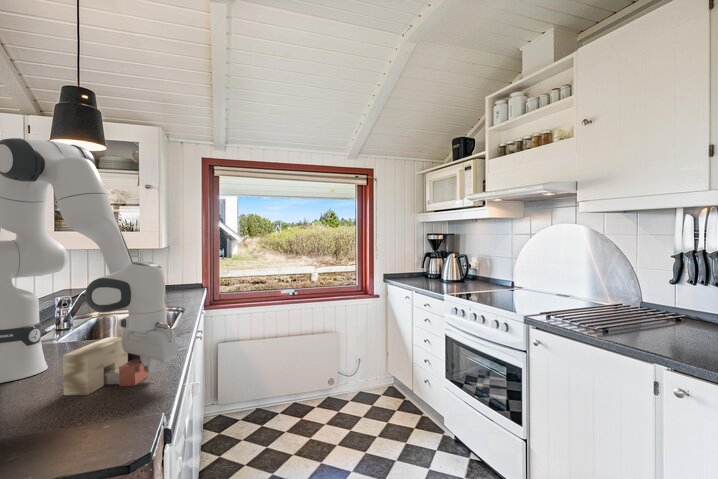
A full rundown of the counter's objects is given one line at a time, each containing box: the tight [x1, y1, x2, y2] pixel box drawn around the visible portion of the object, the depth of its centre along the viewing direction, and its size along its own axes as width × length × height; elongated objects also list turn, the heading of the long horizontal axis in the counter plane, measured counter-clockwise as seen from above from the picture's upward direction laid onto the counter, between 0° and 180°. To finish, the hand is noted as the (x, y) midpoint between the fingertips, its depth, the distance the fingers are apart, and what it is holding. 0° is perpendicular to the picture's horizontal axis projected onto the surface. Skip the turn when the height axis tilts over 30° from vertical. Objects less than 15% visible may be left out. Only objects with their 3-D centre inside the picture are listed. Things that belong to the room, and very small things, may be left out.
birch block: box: [62, 336, 128, 396], centre depth 98 cm, size 6×16×10 cm, turn 1°
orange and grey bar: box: [104, 359, 149, 387], centre depth 98 cm, size 14×6×5 cm, turn 92°
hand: (149, 372), depth 98 cm, fingers closed
